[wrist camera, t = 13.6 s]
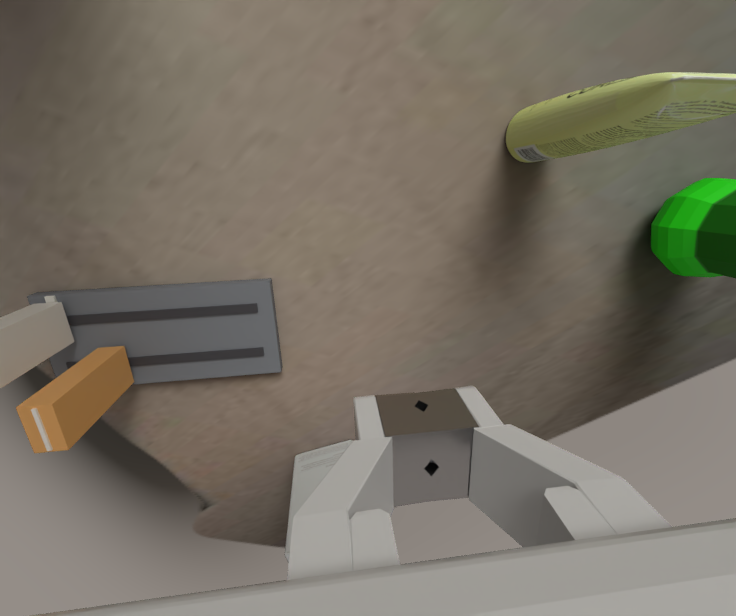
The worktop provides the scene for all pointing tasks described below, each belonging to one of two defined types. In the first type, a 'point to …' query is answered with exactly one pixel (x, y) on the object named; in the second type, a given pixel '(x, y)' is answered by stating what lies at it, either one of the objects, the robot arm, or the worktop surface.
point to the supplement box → (310, 478)
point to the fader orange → (75, 399)
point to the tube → (619, 113)
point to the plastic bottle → (698, 230)
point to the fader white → (31, 338)
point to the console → (174, 328)
